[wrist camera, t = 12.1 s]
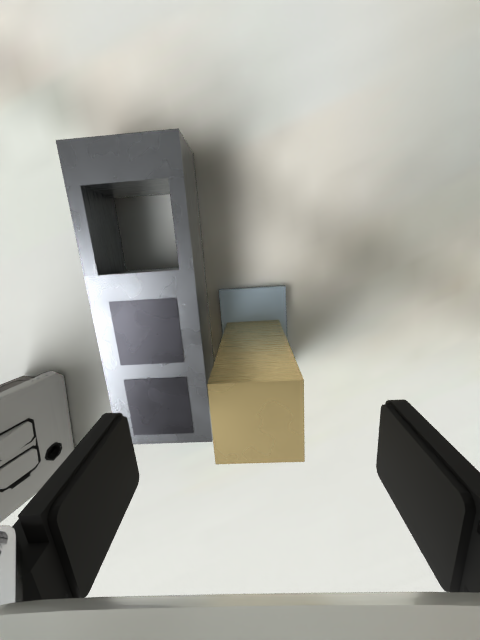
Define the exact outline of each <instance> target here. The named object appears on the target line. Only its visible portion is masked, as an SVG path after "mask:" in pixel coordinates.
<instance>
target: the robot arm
mask: <svg viewBox="0 0 480 640" xmlns="http://www.w3.org/2000/svg"><path fill="white" fill-rule="evenodd" d="M376 467H377V473H378V476H379V478H380V479H381V481H382V483H383V485H384V487H385V488H386V490H387V492H388V494H389V495H390V497H391V499H392V501H393V502H394V504H395V506H396V508H397V509H398V511H399V513H400V515H401V517H402V518H403V520H404V522H405V524H406V525H407V527H408V529H409V531H410V532H411V534H412V536H413V538H414V539H415V541H416V543H417V545H418V547H419V548H420V550H421V552H422V554H423V555H424V557H425V559H426V561H427V562H428V564H429V566H430V568H431V570H432V571H433V573H434V575H435V577H436V578H437V580H438V582H439V584H440V585H441V587H442V588H443V589H444V590H445V591H446V592H353V593H275V594H216V595H168V596H125V597H92V598H85V597H86V596H87V595H88V593H89V591H90V589H91V587H92V585H93V583H94V581H95V578H96V576H97V574H98V572H99V569H100V567H101V565H102V563H103V561H104V558H105V556H106V554H107V552H108V550H109V547H110V545H111V543H112V541H113V539H114V536H115V534H116V532H117V530H118V528H119V525H120V523H121V521H122V519H123V517H124V514H125V512H126V510H127V508H128V506H129V503H130V501H131V499H132V497H133V494H134V492H135V490H136V488H137V486H138V482H139V471H138V466H137V462H136V457H135V452H134V447H133V442H132V438H131V433H130V428H129V423H128V419H127V417H125V416H123V414H122V413H105V414H104V415H102V417H101V418H100V419H99V420H98V421H97V422H96V424H95V425H94V426H93V427H92V428H91V430H90V431H89V432H88V433H87V434H86V436H85V437H84V438H83V439H82V440H81V441H80V443H79V444H78V445H77V446H76V447H75V449H74V450H73V451H72V452H71V453H70V454H69V456H68V457H67V458H66V459H65V460H64V462H63V463H62V464H61V465H60V466H59V468H58V469H57V470H56V471H55V472H54V473H53V475H52V476H51V477H50V478H49V479H48V481H47V482H46V483H45V484H44V485H43V487H42V488H41V489H40V490H39V491H38V492H37V494H36V495H35V496H34V497H33V498H32V500H31V501H30V502H29V503H28V504H27V505H26V507H25V508H24V509H23V510H22V511H21V513H20V514H19V515H18V517H19V519H18V521H17V522H16V523H15V524H14V525H13V527H11V526H9V525H0V640H480V472H479V471H478V470H477V469H476V468H475V467H474V466H473V465H472V464H471V463H470V462H469V461H467V460H466V459H465V458H464V457H463V456H462V455H461V454H460V453H459V452H458V451H457V450H456V449H455V448H454V447H453V446H452V445H451V444H450V443H449V442H448V441H447V440H446V439H445V438H444V437H443V436H442V435H441V434H440V433H439V432H438V431H437V430H436V429H435V428H434V427H433V426H432V425H431V424H430V423H429V422H428V421H427V420H426V419H425V418H424V417H423V416H422V415H421V414H420V413H419V412H418V411H417V410H416V409H415V408H414V407H413V406H412V405H411V404H409V403H408V402H407V401H406V400H388V401H386V404H385V405H382V406H381V414H380V426H379V439H378V451H377V464H376Z"/></svg>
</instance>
